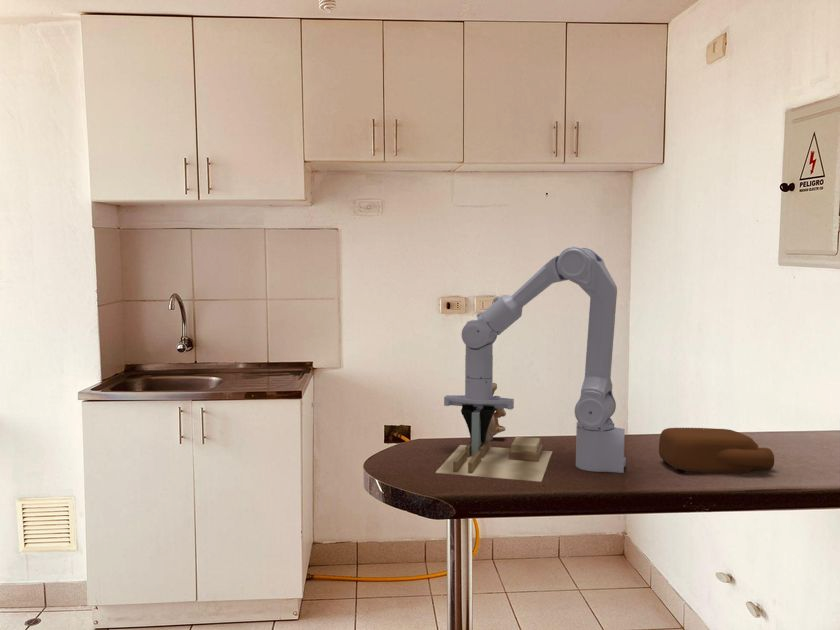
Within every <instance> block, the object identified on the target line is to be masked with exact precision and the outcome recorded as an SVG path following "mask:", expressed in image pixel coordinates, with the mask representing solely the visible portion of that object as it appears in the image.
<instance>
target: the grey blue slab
mask: <svg viewBox="0 0 840 630" xmlns="http://www.w3.org/2000/svg"><path fill="white" fill-rule="evenodd" d="M481 409H483V407H477V408H476V409H475V410H474V411H473V412H472V449H471V456H474V454H475V453H476V452H477V451H479V448H480V447H481V445H482V444H483V443H484V442H481V413H480V410H481Z"/></svg>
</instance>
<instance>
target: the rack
mask: <svg viewBox="0 0 840 630" xmlns="http://www.w3.org/2000/svg"><path fill="white" fill-rule="evenodd" d="M491 443H492V440H491V438H487V439H486V441H485V442H484V443H483V444H482V445H481V447H480V448H479V451H477V452H476V453H475V454H474V456H471V449H472V442H471V440H470V441H469V443H468V444H467V445H466V444H460V445H458V447H457V448H455V449H454V451H453V452H452V453H451V454H450V456H449V457H447V459H446V460H445V461H444V462H443V463H442V465H441V466H440V467H439V468H438V469H437V470H436V472H435V474H444V475H456V476H457V475H458V476H466V477H467V476H468V477H480V478H481V477H482V478H490V479H491V478H493V479H502V480H503V479H505V480H516V481H517V480H518V481H529V482H538V483H541V482H542V481H543V478H544V475H545V473H546V470H547V468H548V465H549V462H550V460H551V456H552V454H553V450H552V451H550V450H542V454H541V456H540V459H539V461H538V462H533V461H520V460H508V454H509V451H510V449H511V447H510V448H509V447H499V446H498V447H496V446H495V447H493V446H491V445H492V444H491ZM442 479H445V478H444V477H443V478H442ZM454 480H457V479H454ZM468 480H469V479H468ZM468 480H466V481H468ZM478 482H480V481H478ZM489 483H491V484H492V482H489ZM502 484H504V483H502ZM524 486H527V485H524ZM536 487H539V486H536Z"/></svg>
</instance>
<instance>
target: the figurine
mask: <svg viewBox="0 0 840 630" xmlns="http://www.w3.org/2000/svg"><path fill="white" fill-rule="evenodd" d="M497 388H498V384H497V383H496V382H493V386H492V397H500V398H502V397H501V396H499V395H495V391H496V390H498V389H497ZM486 405H487V404H486ZM506 416H507V412H506V410H505V408H496V410H495V412H494V414H493V416H492V419H491V421H490V424H489V427H488V430H487V435H486V439H487V438H491V441H493V440H494V436H496V435H497V434H500V433H502V432H503V433H504V432H505V431H506V427H505V426H503V425H500V423H499V419H500V418H502V417H506Z"/></svg>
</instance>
